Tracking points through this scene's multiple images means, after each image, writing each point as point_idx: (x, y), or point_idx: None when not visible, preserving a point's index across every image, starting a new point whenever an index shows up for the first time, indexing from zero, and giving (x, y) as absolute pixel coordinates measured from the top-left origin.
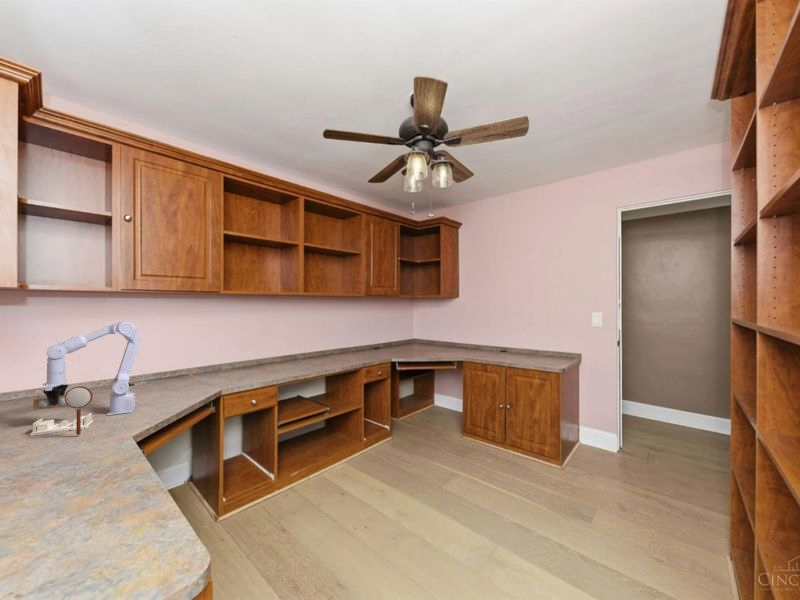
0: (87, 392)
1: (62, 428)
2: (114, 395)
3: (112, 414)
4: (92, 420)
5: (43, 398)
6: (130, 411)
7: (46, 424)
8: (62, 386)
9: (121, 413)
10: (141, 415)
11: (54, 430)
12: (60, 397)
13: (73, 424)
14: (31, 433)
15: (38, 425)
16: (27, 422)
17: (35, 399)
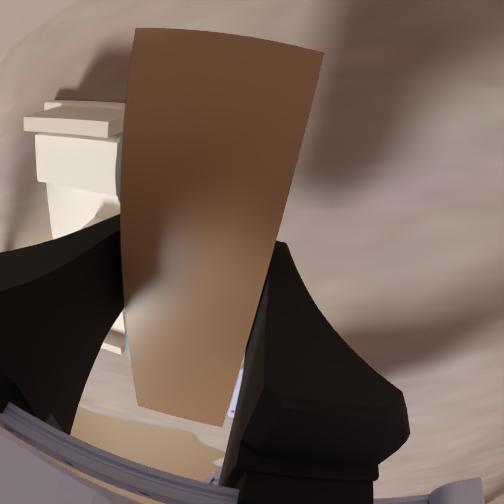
0: None
1: (61, 227)
2: (217, 468)
3: (238, 379)
4: None
5: (157, 161)
6: (232, 415)
7: (39, 176)
8: (222, 485)
9: (232, 397)
10: (170, 416)
11: (48, 200)
12: (128, 336)
13: None
14: (46, 108)
15: (37, 140)
16: (424, 15)
17: (140, 51)
